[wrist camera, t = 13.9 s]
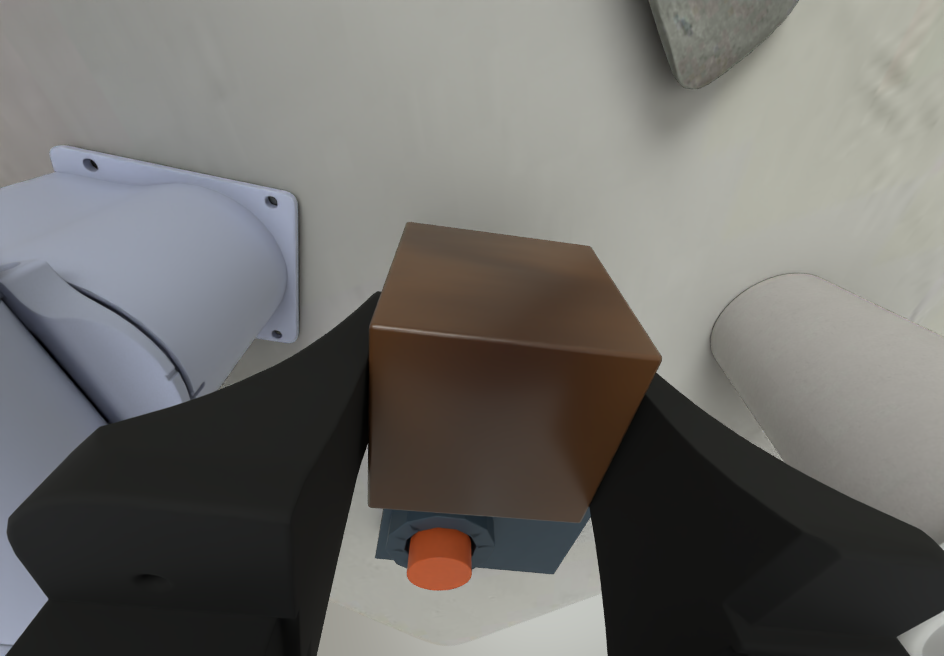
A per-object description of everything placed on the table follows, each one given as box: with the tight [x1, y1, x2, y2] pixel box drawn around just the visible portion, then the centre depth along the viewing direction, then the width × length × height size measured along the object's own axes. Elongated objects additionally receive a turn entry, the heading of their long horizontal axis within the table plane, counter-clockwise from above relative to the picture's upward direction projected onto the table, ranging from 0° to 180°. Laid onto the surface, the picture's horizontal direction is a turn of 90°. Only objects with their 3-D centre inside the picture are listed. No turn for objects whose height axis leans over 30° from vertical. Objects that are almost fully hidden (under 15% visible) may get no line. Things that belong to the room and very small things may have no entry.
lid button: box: [407, 528, 472, 590], centre depth 26 cm, size 4×4×2 cm
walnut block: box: [368, 222, 662, 523], centre depth 10 cm, size 5×5×5 cm
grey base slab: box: [375, 507, 591, 574], centre depth 29 cm, size 14×11×4 cm
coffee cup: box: [711, 273, 944, 656], centre depth 16 cm, size 10×10×15 cm
